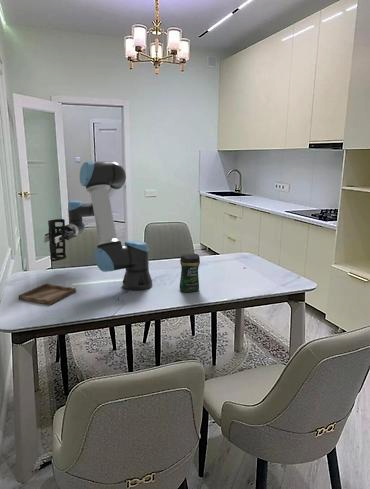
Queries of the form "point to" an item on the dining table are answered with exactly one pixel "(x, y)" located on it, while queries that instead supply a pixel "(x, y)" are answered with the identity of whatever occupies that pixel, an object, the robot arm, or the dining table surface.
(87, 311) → the dining table surface
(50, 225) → the holder
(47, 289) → the tray
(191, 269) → the coffee jar
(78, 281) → the dining table surface
